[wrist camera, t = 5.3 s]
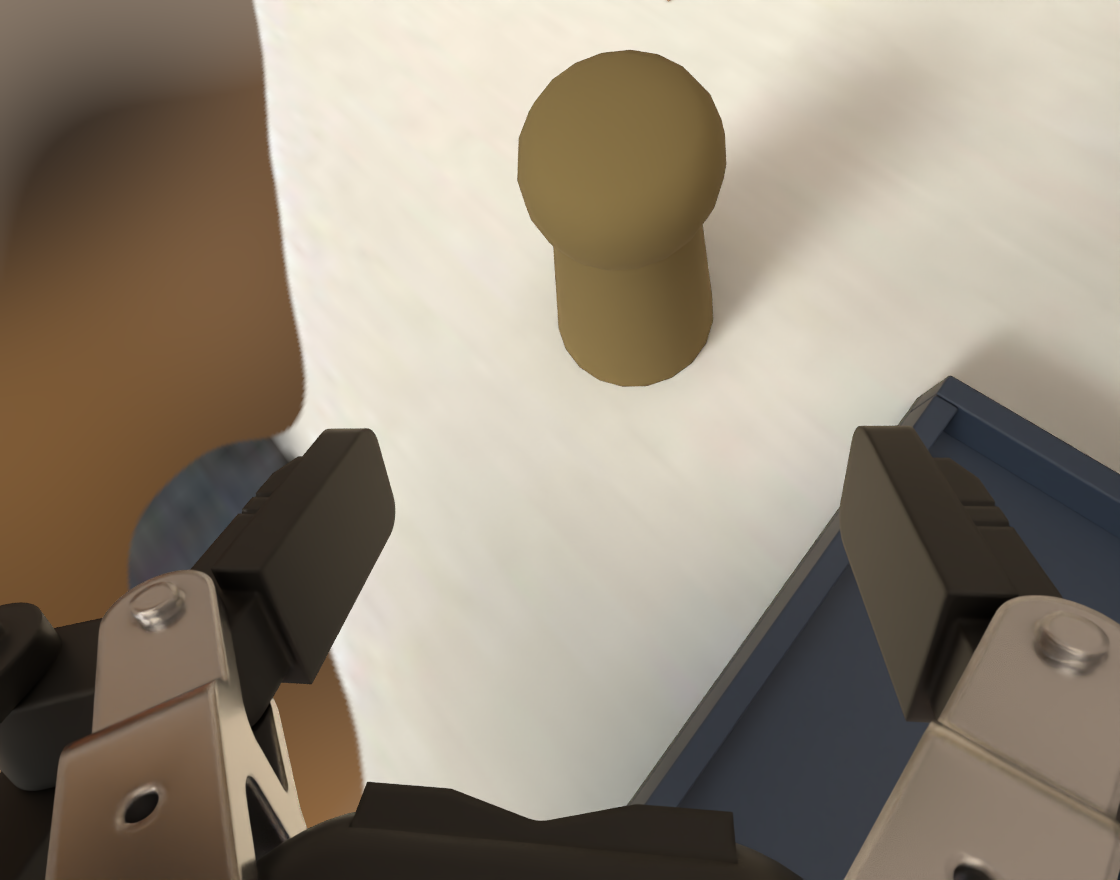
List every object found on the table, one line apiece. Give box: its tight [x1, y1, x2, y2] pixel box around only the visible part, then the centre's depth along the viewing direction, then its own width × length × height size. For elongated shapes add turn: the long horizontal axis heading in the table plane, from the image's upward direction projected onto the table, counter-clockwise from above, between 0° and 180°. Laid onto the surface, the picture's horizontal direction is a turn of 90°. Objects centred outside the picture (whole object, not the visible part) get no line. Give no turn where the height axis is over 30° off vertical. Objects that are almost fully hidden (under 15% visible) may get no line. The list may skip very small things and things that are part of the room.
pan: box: [627, 376, 1120, 880], centre depth 19 cm, size 20×13×3 cm, turn 142°
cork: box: [517, 50, 726, 386], centre depth 20 cm, size 6×6×11 cm
